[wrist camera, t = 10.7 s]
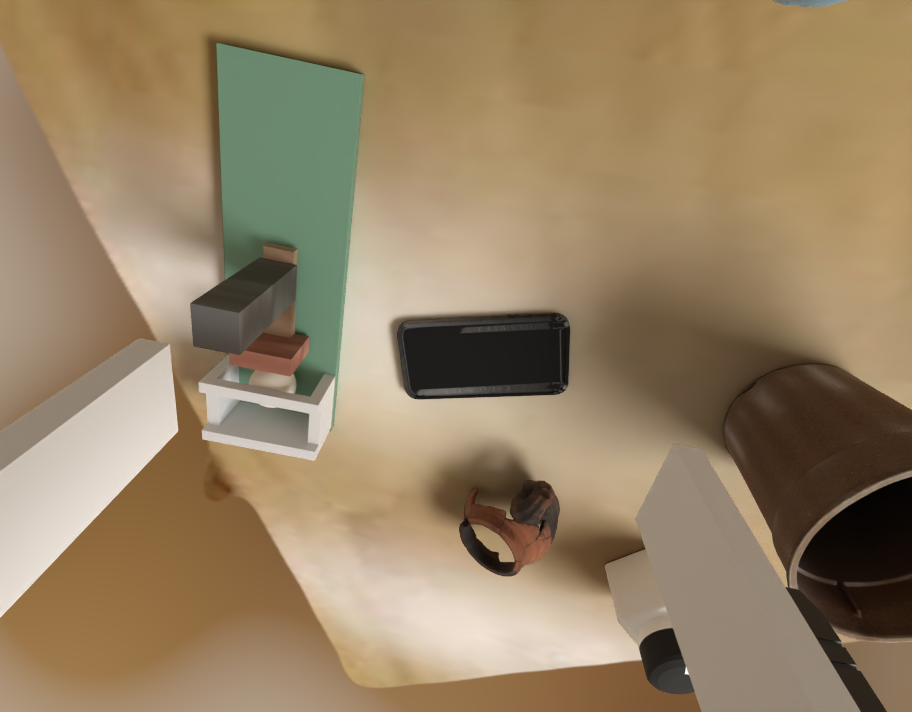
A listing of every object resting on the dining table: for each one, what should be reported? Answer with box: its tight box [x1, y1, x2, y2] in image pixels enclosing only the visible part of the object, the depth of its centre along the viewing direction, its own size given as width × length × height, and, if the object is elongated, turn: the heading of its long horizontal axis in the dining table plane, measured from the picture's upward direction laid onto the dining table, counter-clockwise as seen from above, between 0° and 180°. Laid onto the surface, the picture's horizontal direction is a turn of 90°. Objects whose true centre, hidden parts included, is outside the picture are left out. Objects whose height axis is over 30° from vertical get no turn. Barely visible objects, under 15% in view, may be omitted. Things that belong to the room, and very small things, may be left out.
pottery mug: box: [459, 480, 560, 576], centre depth 49 cm, size 12×10×8 cm
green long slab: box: [199, 43, 364, 461], centre depth 39 cm, size 31×10×6 cm, turn 169°
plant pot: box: [724, 364, 912, 643], centre depth 38 cm, size 16×16×16 cm
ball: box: [249, 370, 296, 408], centre depth 43 cm, size 4×4×4 cm
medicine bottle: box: [605, 549, 695, 694], centre depth 50 cm, size 7×7×12 cm
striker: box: [190, 243, 309, 377], centre depth 36 cm, size 9×5×11 cm, turn 169°
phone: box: [397, 313, 570, 399], centre depth 44 cm, size 8×1×15 cm
